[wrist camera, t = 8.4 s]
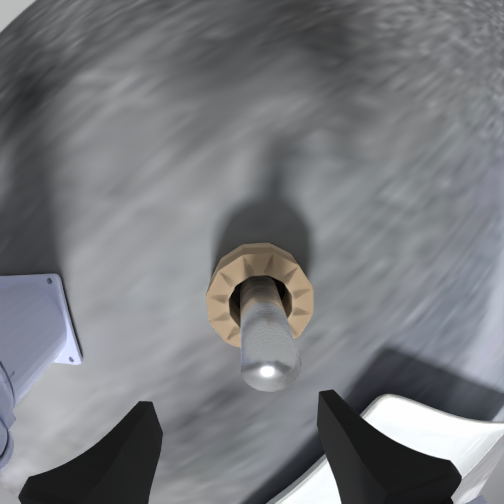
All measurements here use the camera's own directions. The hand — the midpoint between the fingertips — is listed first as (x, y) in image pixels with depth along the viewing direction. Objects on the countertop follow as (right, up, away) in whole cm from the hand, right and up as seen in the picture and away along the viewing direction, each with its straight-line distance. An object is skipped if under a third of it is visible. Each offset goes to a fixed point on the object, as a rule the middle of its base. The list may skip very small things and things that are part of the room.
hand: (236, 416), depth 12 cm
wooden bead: (+1, +4, +10) cm, 11 cm away
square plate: (+17, -21, +17) cm, 31 cm away
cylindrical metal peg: (+1, +5, +10) cm, 11 cm away
